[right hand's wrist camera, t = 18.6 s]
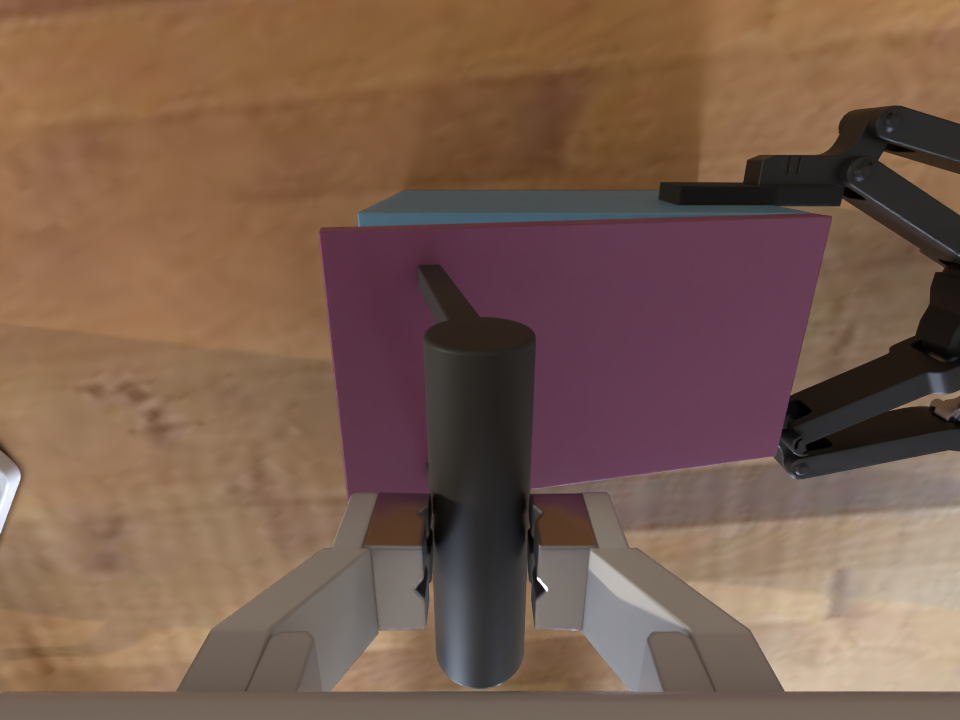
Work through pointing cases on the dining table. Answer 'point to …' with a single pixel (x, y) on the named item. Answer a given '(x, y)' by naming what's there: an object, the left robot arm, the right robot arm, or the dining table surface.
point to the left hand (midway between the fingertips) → (654, 308)
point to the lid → (553, 376)
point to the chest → (538, 207)
